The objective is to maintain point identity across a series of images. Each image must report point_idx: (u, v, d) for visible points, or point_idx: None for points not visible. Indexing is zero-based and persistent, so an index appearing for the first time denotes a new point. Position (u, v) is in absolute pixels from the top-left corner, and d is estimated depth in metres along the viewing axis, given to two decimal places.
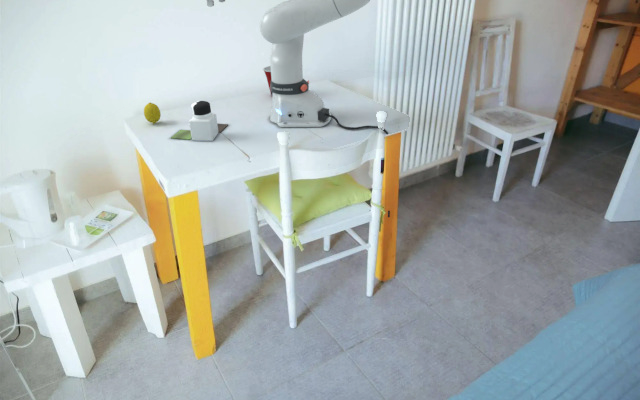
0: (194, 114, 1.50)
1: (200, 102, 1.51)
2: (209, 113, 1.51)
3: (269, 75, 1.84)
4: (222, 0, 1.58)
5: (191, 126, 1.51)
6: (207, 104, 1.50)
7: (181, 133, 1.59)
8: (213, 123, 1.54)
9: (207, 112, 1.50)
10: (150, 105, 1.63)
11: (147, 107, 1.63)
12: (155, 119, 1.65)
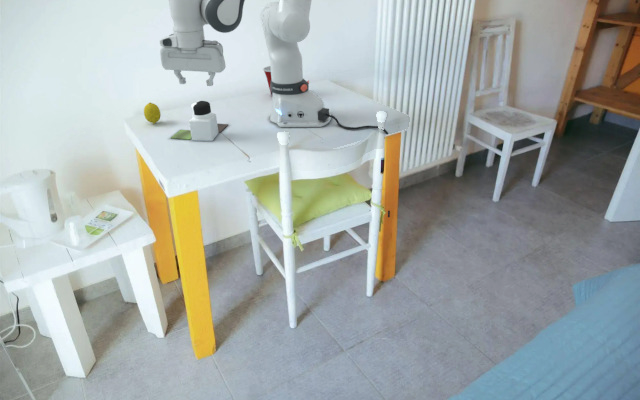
0: (194, 114, 1.50)
1: (200, 102, 1.51)
2: (209, 113, 1.51)
3: (269, 75, 1.84)
4: (185, 81, 1.48)
5: (191, 126, 1.51)
6: (207, 104, 1.50)
7: (181, 133, 1.59)
8: (213, 123, 1.54)
9: (207, 112, 1.50)
10: (150, 105, 1.63)
11: (147, 107, 1.63)
12: (155, 119, 1.65)
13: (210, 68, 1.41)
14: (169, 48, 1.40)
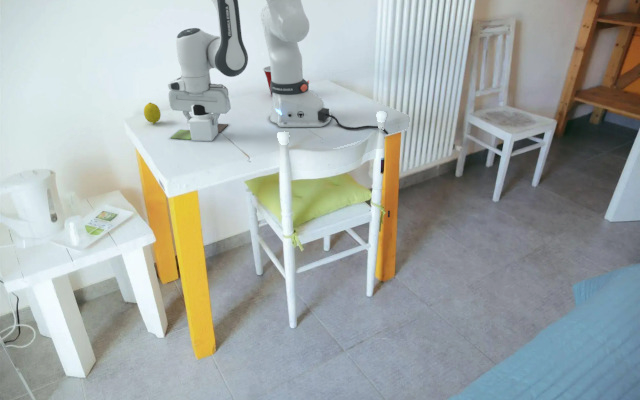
0: (194, 114, 1.50)
1: None
2: (209, 113, 1.51)
3: (269, 75, 1.84)
4: None
5: (191, 126, 1.51)
6: None
7: (181, 133, 1.59)
8: None
9: None
10: (150, 105, 1.63)
11: (147, 107, 1.63)
12: (155, 119, 1.65)
13: (216, 109, 1.48)
14: (177, 91, 1.47)
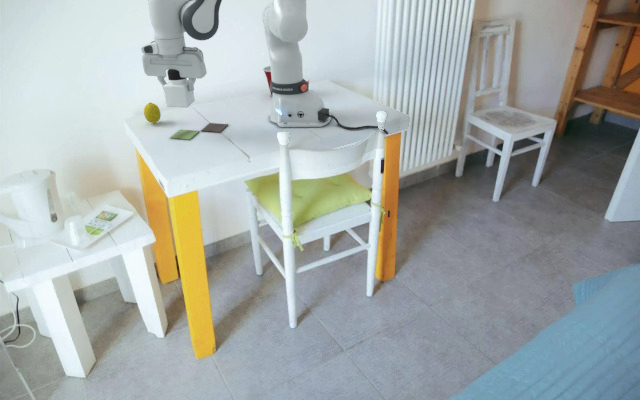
0: (168, 79, 1.46)
1: None
2: (184, 78, 1.47)
3: (269, 75, 1.84)
4: None
5: (165, 92, 1.47)
6: None
7: (181, 133, 1.59)
8: None
9: None
10: (150, 105, 1.63)
11: (147, 107, 1.63)
12: (155, 119, 1.65)
13: (191, 74, 1.44)
14: (150, 55, 1.43)
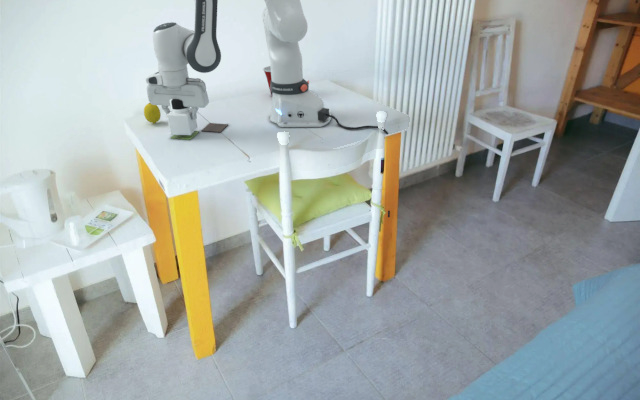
0: (172, 108, 1.51)
1: None
2: (187, 107, 1.52)
3: (269, 75, 1.84)
4: None
5: (169, 120, 1.52)
6: None
7: None
8: None
9: None
10: (150, 105, 1.63)
11: (147, 107, 1.63)
12: (155, 119, 1.65)
13: (194, 103, 1.49)
14: (155, 85, 1.48)
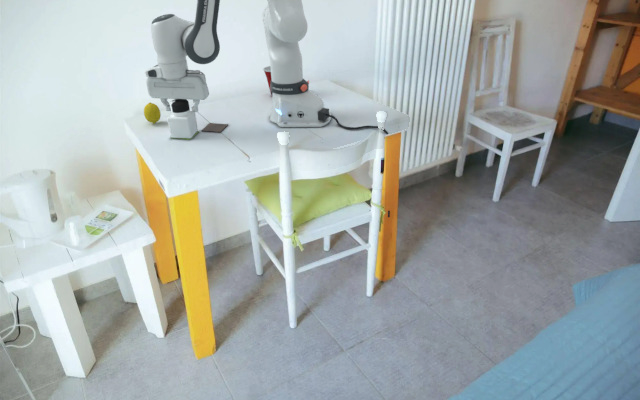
0: (172, 111, 1.51)
1: (178, 100, 1.52)
2: (187, 111, 1.53)
3: (269, 75, 1.84)
4: None
5: (169, 123, 1.53)
6: (185, 102, 1.51)
7: None
8: (192, 121, 1.55)
9: (185, 110, 1.52)
10: (150, 105, 1.63)
11: (147, 107, 1.63)
12: (155, 119, 1.65)
13: (194, 96, 1.48)
14: (154, 78, 1.47)
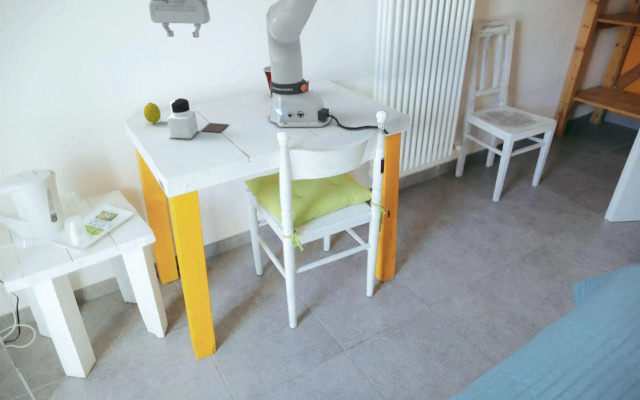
0: (172, 111, 1.51)
1: (178, 100, 1.52)
2: (187, 111, 1.53)
3: (269, 75, 1.84)
4: (173, 34, 1.58)
5: (169, 123, 1.53)
6: (185, 102, 1.51)
7: None
8: (192, 121, 1.55)
9: (185, 110, 1.52)
10: (150, 105, 1.63)
11: (147, 107, 1.63)
12: (155, 119, 1.65)
13: (195, 19, 1.51)
14: (157, 1, 1.50)
